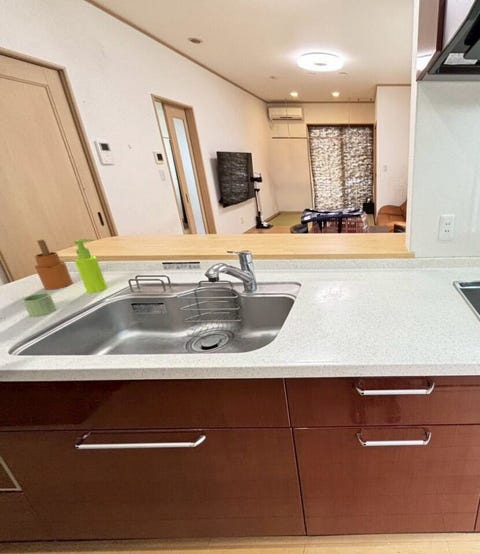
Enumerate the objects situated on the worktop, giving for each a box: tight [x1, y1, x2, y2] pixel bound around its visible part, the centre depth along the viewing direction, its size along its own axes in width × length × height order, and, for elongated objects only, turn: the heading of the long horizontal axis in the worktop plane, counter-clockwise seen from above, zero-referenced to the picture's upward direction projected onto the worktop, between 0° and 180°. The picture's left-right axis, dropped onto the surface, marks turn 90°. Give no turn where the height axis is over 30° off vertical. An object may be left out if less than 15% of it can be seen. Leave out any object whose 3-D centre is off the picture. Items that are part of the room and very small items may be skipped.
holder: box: [21, 292, 58, 318], centre depth 96 cm, size 6×6×6 cm
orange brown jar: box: [34, 251, 74, 291], centre depth 115 cm, size 8×8×13 cm
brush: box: [36, 239, 51, 256], centre depth 114 cm, size 4×4×18 cm
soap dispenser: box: [73, 238, 108, 294], centre depth 110 cm, size 6×7×20 cm
